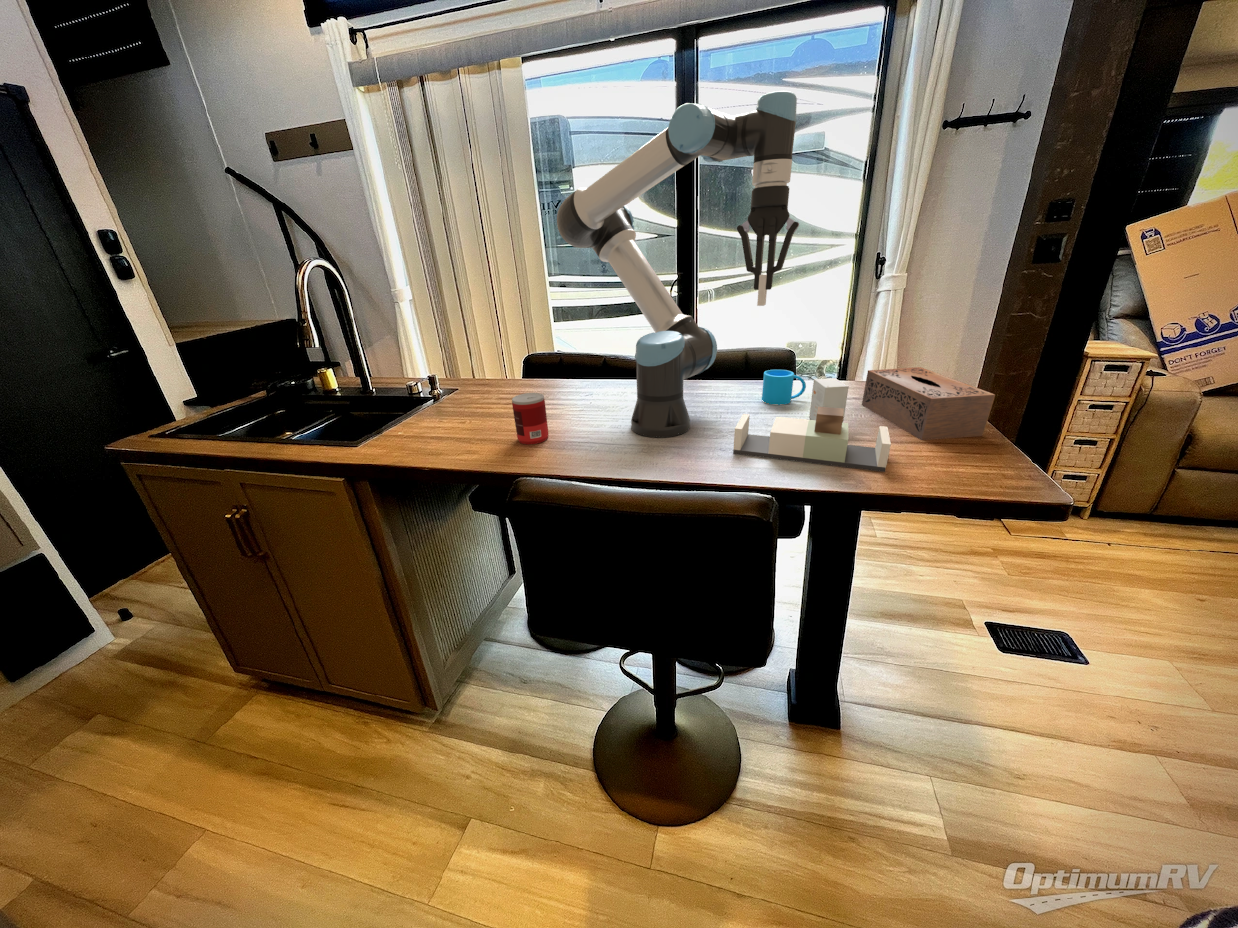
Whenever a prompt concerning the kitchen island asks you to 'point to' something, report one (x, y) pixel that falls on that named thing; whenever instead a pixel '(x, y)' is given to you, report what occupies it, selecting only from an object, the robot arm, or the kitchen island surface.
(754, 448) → the board
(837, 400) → the small box
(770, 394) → the mug
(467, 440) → the kitchen island surface
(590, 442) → the kitchen island surface
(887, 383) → the tissue box cover
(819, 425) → the walnut block
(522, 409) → the canned food
